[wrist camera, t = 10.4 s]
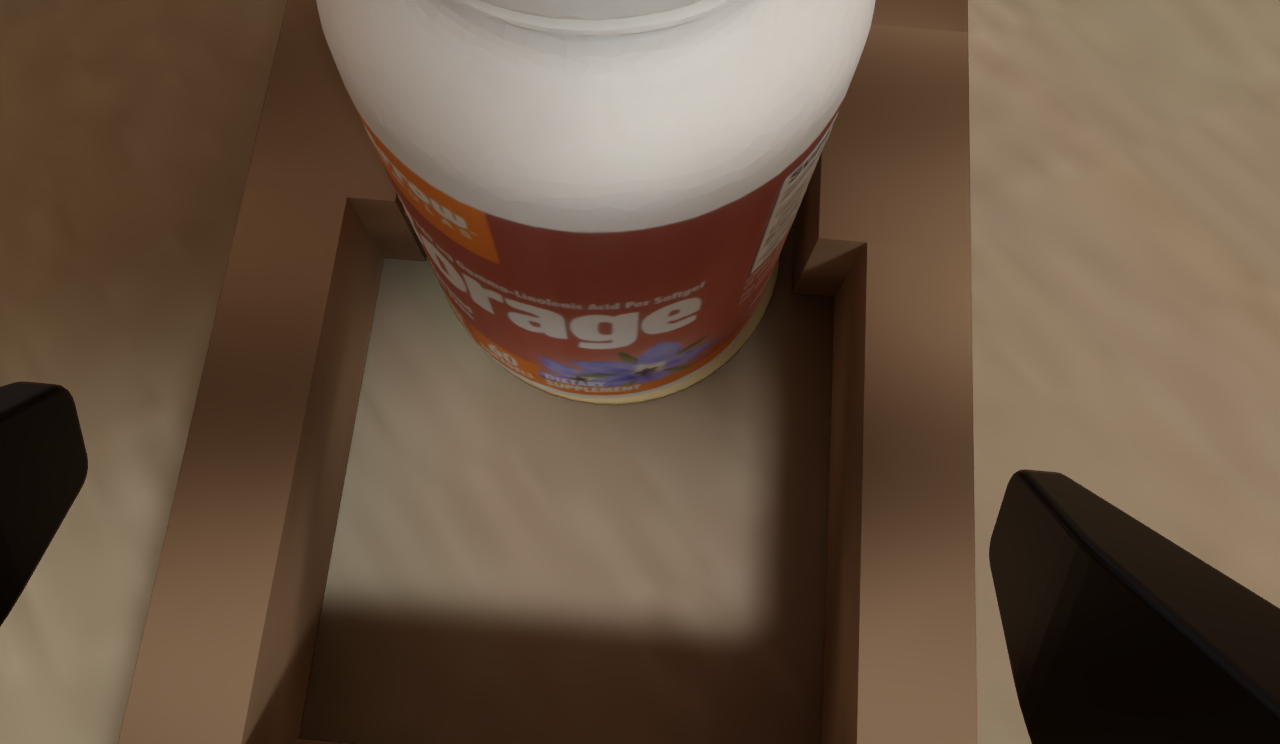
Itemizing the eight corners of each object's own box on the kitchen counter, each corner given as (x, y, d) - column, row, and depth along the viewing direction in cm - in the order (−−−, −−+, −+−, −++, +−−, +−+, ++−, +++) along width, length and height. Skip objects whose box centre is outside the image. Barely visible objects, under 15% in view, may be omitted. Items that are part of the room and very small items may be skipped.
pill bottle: (386, 336, 17) (6, -163, 7) (520, 65, 19) (386, -682, 8) (703, 458, 17) (842, 128, 6) (813, 169, 18) (1072, -488, 8)
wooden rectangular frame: (922, 1217, 14) (985, 1336, 11) (111, 1138, 14) (5, 1240, 12) (924, 46, 19) (967, -39, 17) (347, -3, 20) (309, -94, 17)
